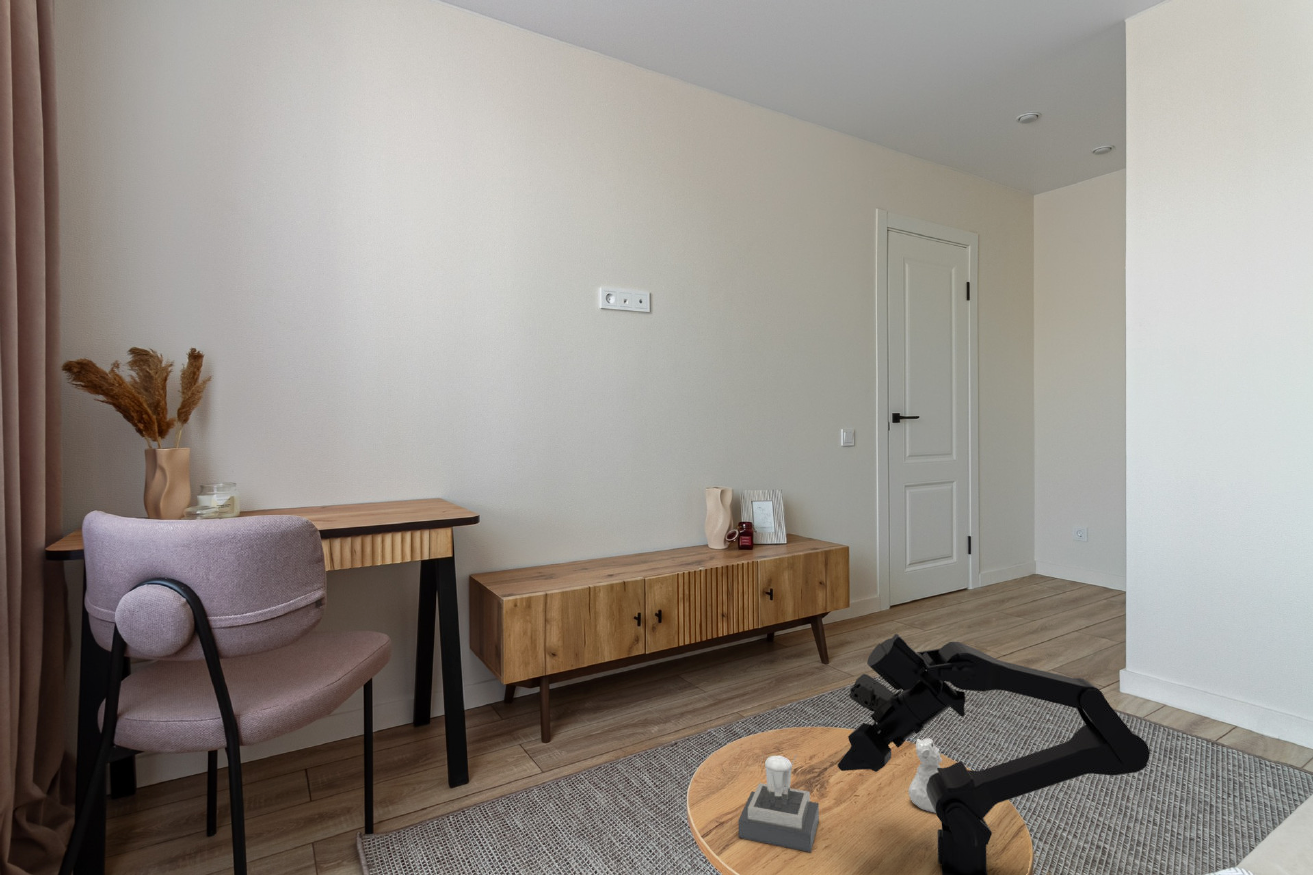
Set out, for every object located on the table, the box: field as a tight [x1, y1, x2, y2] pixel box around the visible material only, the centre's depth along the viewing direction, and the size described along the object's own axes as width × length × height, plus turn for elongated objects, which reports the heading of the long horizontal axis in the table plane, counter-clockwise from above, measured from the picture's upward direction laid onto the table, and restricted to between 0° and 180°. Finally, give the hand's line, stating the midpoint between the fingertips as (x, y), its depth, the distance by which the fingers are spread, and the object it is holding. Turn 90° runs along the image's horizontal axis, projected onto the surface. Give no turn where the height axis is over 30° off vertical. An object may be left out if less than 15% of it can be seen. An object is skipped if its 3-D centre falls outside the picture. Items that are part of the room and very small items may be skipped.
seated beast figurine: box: [907, 737, 943, 814], centre depth 126 cm, size 10×9×12 cm
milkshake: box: [764, 754, 797, 813], centre depth 119 cm, size 4×5×10 cm
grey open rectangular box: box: [738, 782, 820, 853], centre depth 119 cm, size 12×10×5 cm
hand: (849, 757), depth 116 cm, fingers open, 9 cm apart
